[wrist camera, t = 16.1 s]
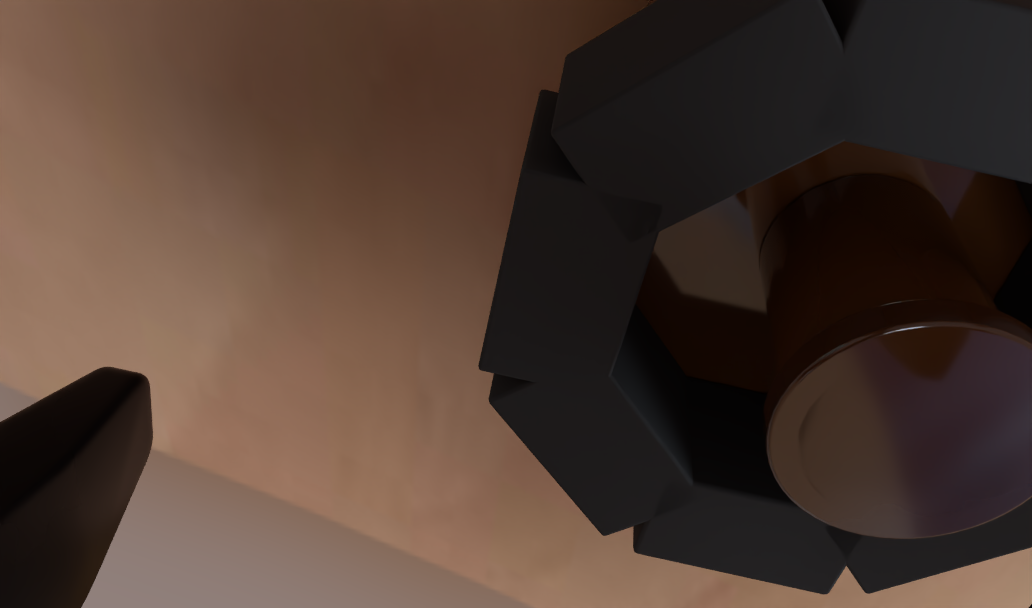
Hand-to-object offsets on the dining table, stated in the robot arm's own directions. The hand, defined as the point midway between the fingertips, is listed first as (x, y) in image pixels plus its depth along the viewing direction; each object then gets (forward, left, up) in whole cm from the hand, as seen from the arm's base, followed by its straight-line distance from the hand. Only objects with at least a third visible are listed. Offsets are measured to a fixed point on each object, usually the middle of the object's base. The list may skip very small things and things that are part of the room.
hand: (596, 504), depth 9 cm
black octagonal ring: (+3, -1, -6) cm, 7 cm away
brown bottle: (+3, -1, -12) cm, 12 cm away
